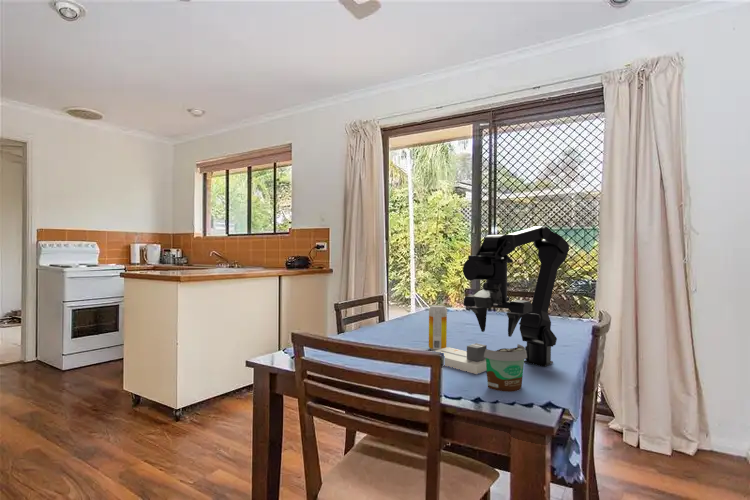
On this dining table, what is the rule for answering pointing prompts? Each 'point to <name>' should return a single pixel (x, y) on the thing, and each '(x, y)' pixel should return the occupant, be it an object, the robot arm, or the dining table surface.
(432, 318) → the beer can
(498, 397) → the dining table surface
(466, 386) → the dining table surface
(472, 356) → the fader cap
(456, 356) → the fader console
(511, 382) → the food container
